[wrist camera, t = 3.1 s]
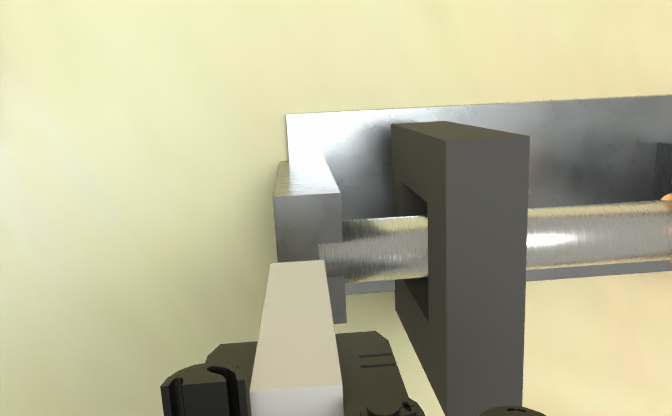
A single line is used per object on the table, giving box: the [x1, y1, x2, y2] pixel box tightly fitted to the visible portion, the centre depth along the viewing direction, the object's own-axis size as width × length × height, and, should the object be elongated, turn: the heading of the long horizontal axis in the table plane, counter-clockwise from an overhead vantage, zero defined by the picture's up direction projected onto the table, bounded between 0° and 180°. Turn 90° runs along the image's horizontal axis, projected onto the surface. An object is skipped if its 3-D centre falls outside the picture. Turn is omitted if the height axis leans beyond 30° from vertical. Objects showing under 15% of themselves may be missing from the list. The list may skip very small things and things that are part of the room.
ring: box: [391, 121, 530, 416], centre depth 21 cm, size 2×9×9 cm, turn 3°
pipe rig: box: [273, 95, 672, 324], centre depth 25 cm, size 23×10×10 cm, turn 93°
